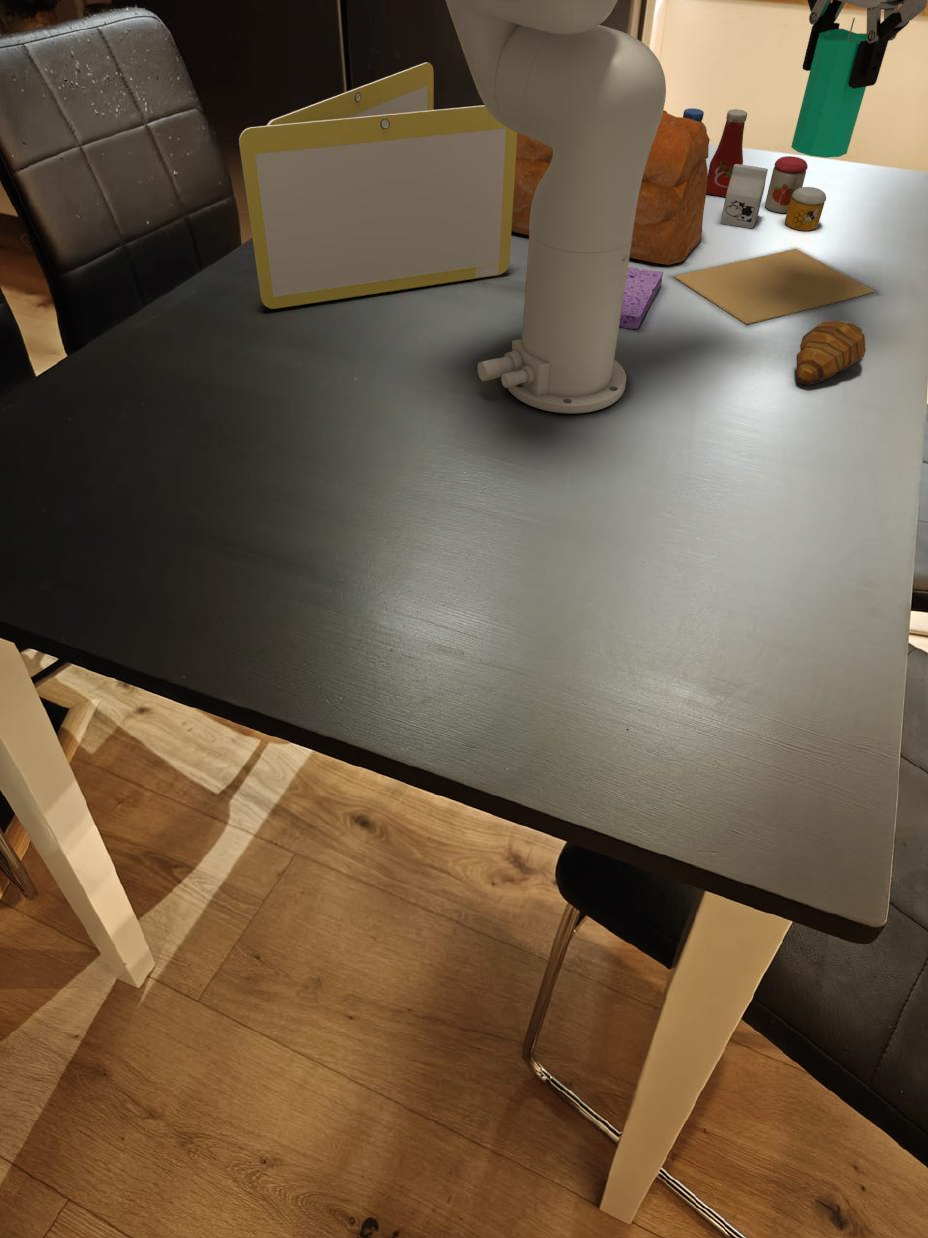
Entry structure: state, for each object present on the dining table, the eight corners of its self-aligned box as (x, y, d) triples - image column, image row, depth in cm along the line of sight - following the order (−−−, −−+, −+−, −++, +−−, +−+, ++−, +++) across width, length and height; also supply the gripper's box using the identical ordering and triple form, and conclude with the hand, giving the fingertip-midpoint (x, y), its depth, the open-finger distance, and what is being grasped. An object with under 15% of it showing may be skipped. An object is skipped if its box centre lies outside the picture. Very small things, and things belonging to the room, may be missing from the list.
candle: (838, 161, 95) (876, 27, 87) (783, 150, 97) (815, 19, 89) (854, 145, 99) (892, 16, 90) (800, 135, 101) (833, 8, 92)
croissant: (831, 400, 93) (847, 355, 89) (771, 378, 96) (783, 334, 92) (880, 351, 100) (896, 308, 97) (822, 332, 103) (836, 290, 100)
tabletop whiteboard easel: (410, 211, 127) (407, 51, 113) (547, 247, 119) (561, 79, 105) (244, 307, 105) (214, 123, 91) (398, 358, 98) (391, 165, 84)
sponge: (661, 286, 111) (663, 271, 110) (637, 331, 103) (640, 315, 102) (605, 276, 113) (607, 261, 112) (578, 319, 105) (580, 304, 103)
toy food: (623, 207, 130) (636, 114, 121) (645, 178, 138) (659, 90, 129) (813, 239, 123) (841, 143, 114) (825, 206, 131) (851, 115, 122)
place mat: (746, 325, 104) (747, 323, 104) (673, 277, 113) (674, 275, 113) (873, 292, 111) (874, 290, 111) (795, 249, 120) (796, 248, 120)
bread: (675, 272, 114) (699, 143, 104) (486, 230, 123) (490, 107, 112) (707, 234, 123) (732, 111, 112) (529, 197, 132) (536, 80, 121)
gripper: (800, -160, 85) (755, 60, 97) (943, -140, 74) (871, 105, 87) (861, -162, 87) (808, 53, 100) (1008, -143, 76) (928, 95, 89)
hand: (838, 75), depth 93 cm, fingers closed on candle, 6 cm apart
